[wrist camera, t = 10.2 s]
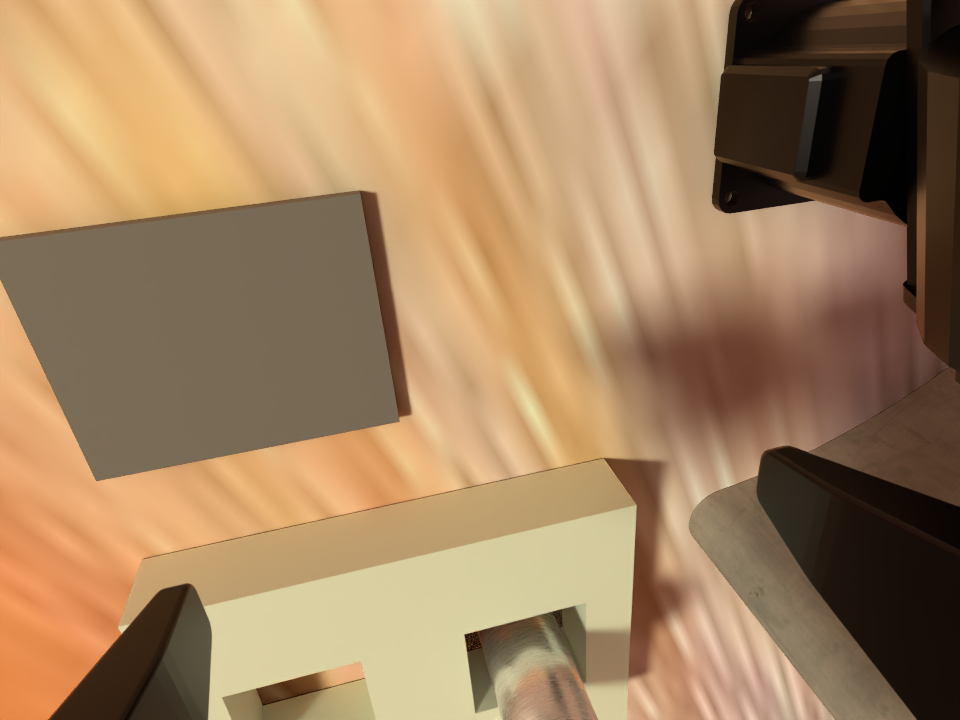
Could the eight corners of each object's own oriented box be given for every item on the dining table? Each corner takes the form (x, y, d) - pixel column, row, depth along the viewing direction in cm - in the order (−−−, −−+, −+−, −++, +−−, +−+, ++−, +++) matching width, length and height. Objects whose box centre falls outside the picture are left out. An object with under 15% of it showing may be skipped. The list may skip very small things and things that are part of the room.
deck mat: (359, 190, 18) (360, 193, 18) (398, 414, 22) (399, 421, 21) (-8, 238, 17) (-17, 243, 16) (101, 471, 20) (96, 481, 20)
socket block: (603, 458, 25) (640, 510, 22) (600, 675, 32) (628, 737, 29) (141, 559, 22) (115, 634, 19) (243, 776, 29) (234, 856, 26)
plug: (542, 566, 27) (619, 743, 20) (545, 618, 29) (617, 799, 22) (468, 585, 27) (521, 773, 20) (475, 637, 28) (526, 828, 21)
